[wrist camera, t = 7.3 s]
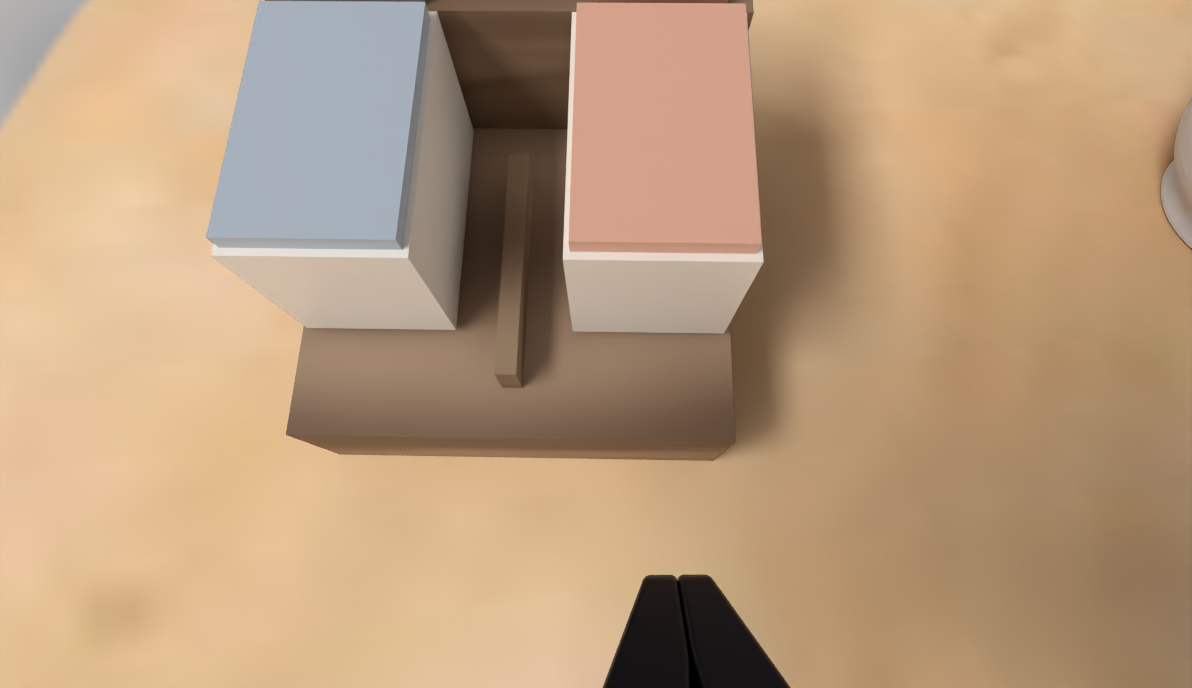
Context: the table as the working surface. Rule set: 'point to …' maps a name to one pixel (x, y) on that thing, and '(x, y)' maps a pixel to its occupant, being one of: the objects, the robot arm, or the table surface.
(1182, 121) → the teacup
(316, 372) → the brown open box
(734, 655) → the robot arm
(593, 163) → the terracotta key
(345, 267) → the slate key
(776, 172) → the table surface
